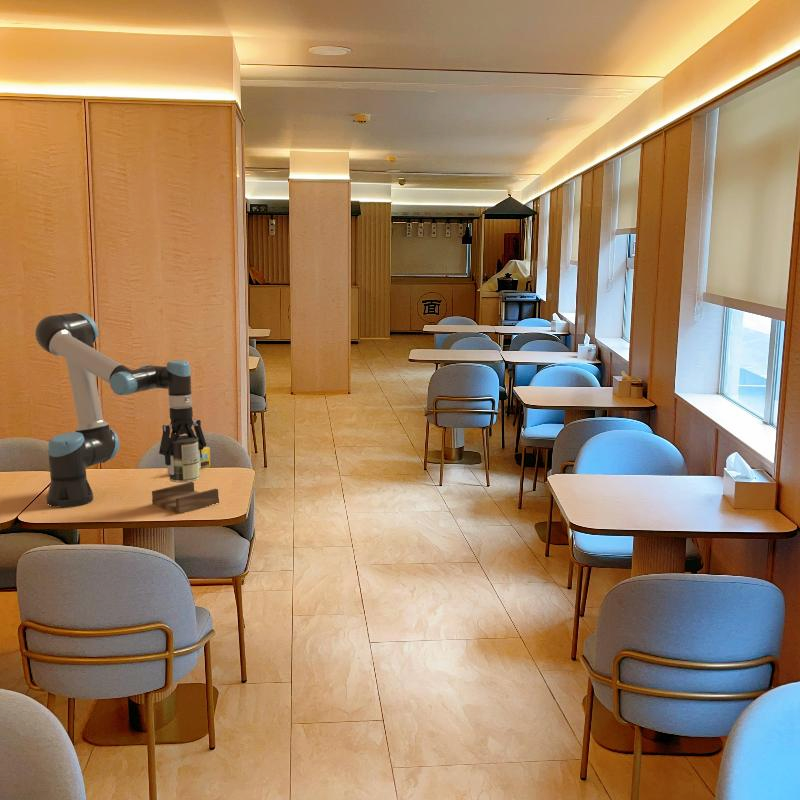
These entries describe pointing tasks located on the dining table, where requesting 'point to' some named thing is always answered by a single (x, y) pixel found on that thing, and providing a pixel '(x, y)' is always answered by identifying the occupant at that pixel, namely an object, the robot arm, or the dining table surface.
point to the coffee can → (185, 459)
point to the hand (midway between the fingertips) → (184, 471)
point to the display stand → (183, 498)
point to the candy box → (205, 458)
